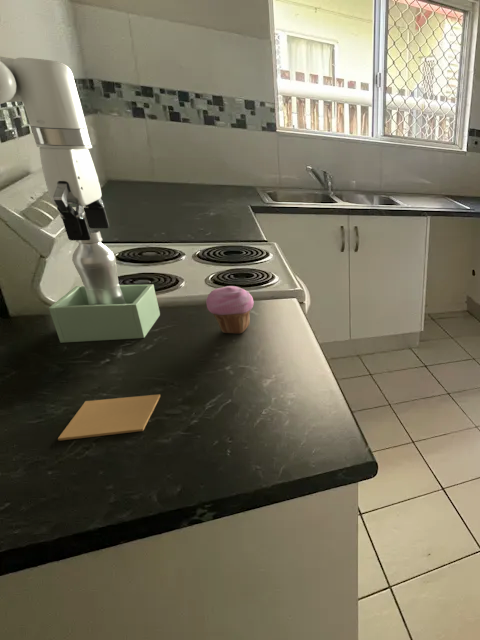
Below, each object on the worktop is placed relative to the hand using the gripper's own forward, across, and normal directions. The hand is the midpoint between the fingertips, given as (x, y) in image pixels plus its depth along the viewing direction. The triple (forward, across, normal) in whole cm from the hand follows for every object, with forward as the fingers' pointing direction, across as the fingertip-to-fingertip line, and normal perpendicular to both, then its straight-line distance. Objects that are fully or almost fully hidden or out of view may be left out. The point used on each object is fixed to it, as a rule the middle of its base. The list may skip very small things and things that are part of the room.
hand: (90, 233), depth 92 cm
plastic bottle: (+20, 0, 0) cm, 20 cm away
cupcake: (+20, +5, +22) cm, 31 cm away
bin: (+20, 0, 0) cm, 20 cm away
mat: (+20, +36, +10) cm, 42 cm away
